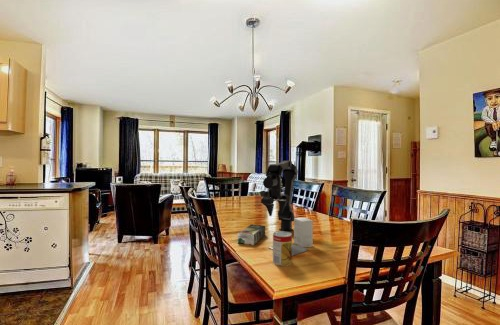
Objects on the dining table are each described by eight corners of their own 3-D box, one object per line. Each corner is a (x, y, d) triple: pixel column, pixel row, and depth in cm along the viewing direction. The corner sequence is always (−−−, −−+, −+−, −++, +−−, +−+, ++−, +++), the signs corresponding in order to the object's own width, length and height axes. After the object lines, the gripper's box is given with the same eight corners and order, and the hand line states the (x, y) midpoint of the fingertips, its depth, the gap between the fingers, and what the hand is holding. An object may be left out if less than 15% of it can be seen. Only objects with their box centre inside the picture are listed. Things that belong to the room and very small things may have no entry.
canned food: (295, 262, 111) (295, 233, 111) (284, 267, 105) (284, 237, 105) (280, 257, 116) (280, 230, 116) (269, 262, 110) (269, 233, 110)
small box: (313, 246, 131) (313, 220, 131) (301, 247, 129) (302, 221, 128) (304, 241, 138) (304, 217, 138) (293, 243, 136) (293, 217, 136)
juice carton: (254, 246, 131) (254, 234, 131) (236, 244, 135) (235, 232, 135) (266, 235, 150) (266, 225, 150) (250, 234, 154) (249, 223, 154)
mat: (286, 243, 136) (286, 242, 136) (308, 250, 125) (308, 249, 125) (268, 248, 128) (268, 247, 128) (290, 256, 117) (290, 255, 117)
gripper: (274, 183, 157) (274, 209, 158) (253, 186, 144) (253, 215, 144) (290, 185, 150) (290, 212, 150) (269, 188, 136) (269, 218, 136)
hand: (275, 214), depth 145 cm, fingers open, 9 cm apart
